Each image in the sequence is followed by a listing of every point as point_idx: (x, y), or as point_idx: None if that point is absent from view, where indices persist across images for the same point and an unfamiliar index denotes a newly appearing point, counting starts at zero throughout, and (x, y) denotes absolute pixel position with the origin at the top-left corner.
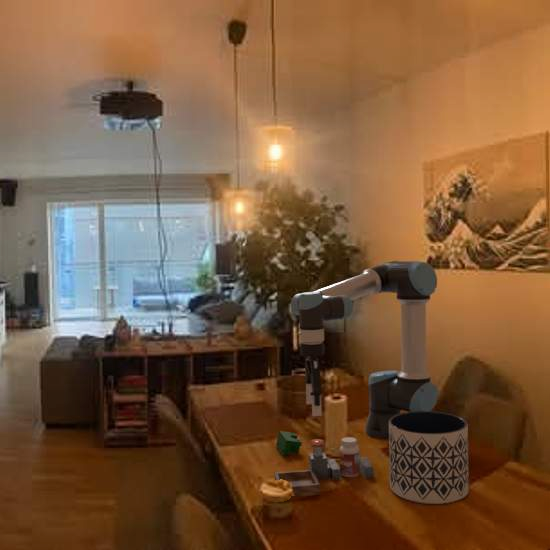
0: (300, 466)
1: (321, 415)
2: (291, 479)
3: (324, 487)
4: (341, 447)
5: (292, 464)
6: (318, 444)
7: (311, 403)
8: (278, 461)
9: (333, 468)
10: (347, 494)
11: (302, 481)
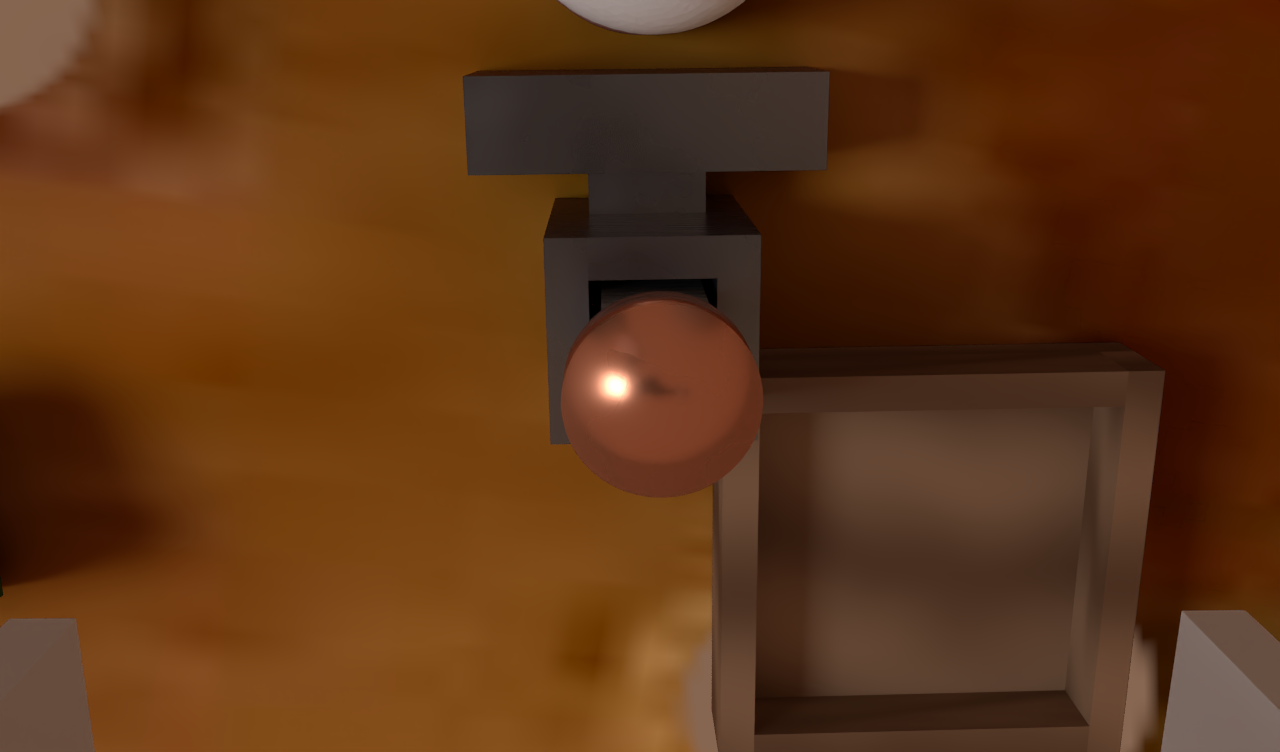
0: (326, 434)
1: (1245, 616)
2: (767, 579)
3: (952, 268)
4: (660, 6)
5: (257, 509)
6: (760, 396)
7: (79, 720)
8: (153, 638)
9: (789, 148)
10: (1189, 63)
11: (844, 483)
